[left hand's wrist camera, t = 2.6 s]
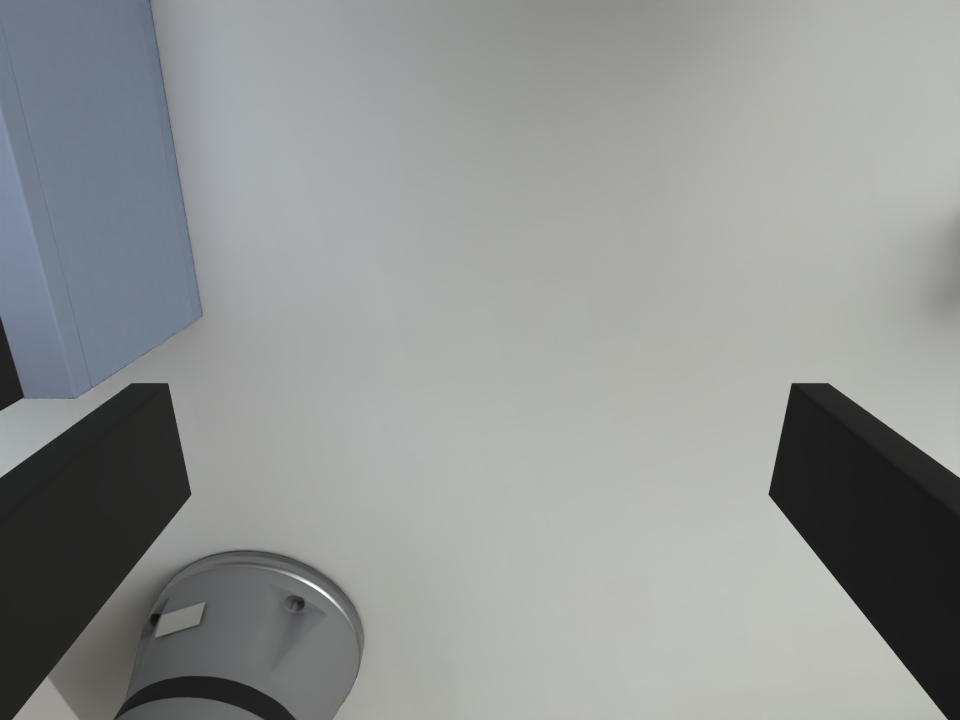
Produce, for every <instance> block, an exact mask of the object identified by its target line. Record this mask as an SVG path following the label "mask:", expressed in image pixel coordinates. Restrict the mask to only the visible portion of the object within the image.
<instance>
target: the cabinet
mask: <svg viewBox="0 0 960 720" xmlns="http://www.w3.org/2000/svg"><path fill="white" fill-rule="evenodd" d="M0 316H1V320H2V323H3V326H4V330H5V333H6V336H7V340H8V343H9V347H10V350H11V353H12V357H13V360H14V363H15V367H16V370H17V373H18V377H19V380H20V383H21V387H22V390H23V394H24V398H77V397H79V396H80V395H82V394H83V393H85V392H86V391H88V390H89V389H91V388H93V387H95V386H96V385H98V384H99V383H101V382H102V381H104V380H105V379H107V378H108V377H110V376H112V375H113V374H115V373H116V372H118V371H119V370H121V369H122V368H124V367H125V366H127V365H128V364H130V363H131V362H133V361H135V360H136V359H138V358H139V357H141V356H142V355H144V354H145V353H147V352H148V351H150V350H151V349H153V348H155V347H156V346H158V345H159V344H161V343H162V342H164V341H165V340H167V339H168V338H170V337H171V336H173V335H174V334H176V333H178V332H179V331H181V330H182V329H184V328H185V327H187V326H188V325H190V324H191V323H193V322H194V321H196V320H197V319H199V318H200V317H202V312H201V306H200V300H199V294H198V288H197V282H196V276H195V270H194V264H193V258H192V253H191V247H190V241H189V235H188V229H187V223H186V217H185V211H184V205H183V199H182V193H181V187H180V181H179V175H178V169H177V163H176V157H175V151H174V145H173V139H172V133H171V127H170V121H169V115H168V109H167V103H166V97H165V91H164V86H163V80H162V74H161V68H160V62H159V56H158V50H157V44H156V38H155V32H154V26H153V20H152V14H151V8H150V2H149V0H0Z"/></svg>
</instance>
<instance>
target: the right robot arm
mask: <svg viewBox="0 0 960 720" xmlns="http://www.w3.org/2000/svg"><path fill="white" fill-rule="evenodd" d="M22 398H24V394H23V390H22V387H21V383H20V380H19V377H18V373H17V370H16V367H15V363H14V360H13V357H12V353H11V350H10V347H9V343H8V340H7V336H6V333H5V330H4V326H3V323H2V320H1V316H0V411H1V410H3V409H4V408H6V407H8V406H10V405H11V404H13V403H15V402H17V401H18V400H20V399H22ZM363 646H364V636H363V629H362V625H361V621H360V619H359V616H358V614H357V612H356V610H355V608H354V606H353V605H352V603H351V601H350V600H349V599H348V597H347V596H346V595H345V594H344V592H343V591H342V590H341V589H340V588H339V587H338V586H337V585H336V584H334V583H333V582H332V581H331V580H330V579H328V578H327V577H326V576H324V575H323V574H321V573H320V572H318V571H316V570H315V569H313V568H311V567H309V566H307V565H305V564H303V563H301V562H298V561H295V560H293V559H290V558H287V557H283V556H279V555H275V554H270V553H263V552H251V551H244V552H229V553H223V554H218V555H214V556H210V557H207V558H205V559H202V560H199V561H197V562H195V563H193V564H191V565H189V566H188V567H186V568H185V569H183V570H182V571H180V572H179V573H178V574H177V575H176V576H175V577H174V578H173V579H172V580H171V581H170V582H169V583H168V584H167V586H166V587H165V588H164V590H163V591H162V593H161V594H160V595H159V597H158V598H157V600H156V601H155V603H154V604H153V606H152V608H151V610H150V612H149V614H148V616H147V619H146V622H145V624H144V627H143V631H142V634H141V640H140V643H139V647H138V651H137V655H136V659H135V663H134V667H133V671H132V675H131V679H130V683H129V688H128V692H127V696H126V700H125V702H124V704H123V705H122V707H121V709H120V710H119V712H118V713H117V715H116V717H115V718H114V720H333V718H334V716H335V715H336V713H337V711H338V710H339V708H340V706H341V705H342V703H343V702H344V701H345V700H346V698H347V696H348V695H349V693H350V691H351V689H352V686H353V685H354V682H355V680H356V678H357V675H358V671H359V667H360V662H361V658H362V653H363Z"/></svg>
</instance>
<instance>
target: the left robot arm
mask: <svg viewBox="0 0 960 720" xmlns="http://www.w3.org/2000/svg"><path fill="white" fill-rule="evenodd" d="M190 496H191V490H190V486H189V481H188V476H187V471H186V466H185V462H184V457H183V452H182V447H181V443H180V438H179V433H178V428H177V423H176V419H175V414H174V409H173V404H172V399H171V395H170V390H169V385H168V383H131V384H130V385H129V386H127V387H126V388H125V389H123V390H122V391H120V392H119V393H118V394H116V395H115V396H113V397H112V398H111V399H109V400H108V401H107V402H105V403H104V404H102V405H101V406H100V407H98V408H97V409H95V410H94V411H93V412H91V413H90V414H88V415H87V416H86V417H84V418H83V419H82V420H80V421H79V422H77V423H76V424H75V425H73V426H72V427H70V428H69V429H68V430H66V431H65V432H63V433H62V434H61V435H59V436H58V437H57V438H55V439H54V440H52V441H51V442H50V443H48V444H47V445H45V446H44V447H43V448H41V449H40V450H38V451H37V452H36V453H34V454H33V455H32V456H30V457H29V458H27V459H26V460H25V461H23V462H22V463H20V464H19V465H18V466H16V467H15V468H13V469H12V470H11V471H9V472H8V473H7V474H5V475H4V476H2V477H1V478H0V720H12V719H13V718H14V717H15V715H16V714H17V713H18V712H19V710H20V709H21V708H22V707H23V705H24V704H25V703H26V702H27V700H28V699H29V698H30V697H31V695H32V694H33V693H34V692H35V690H36V689H37V688H38V686H39V685H40V684H41V683H42V681H43V680H44V679H45V678H46V676H47V675H48V674H49V673H50V671H51V670H52V669H53V668H54V666H55V665H56V664H57V663H58V661H59V660H60V659H61V658H62V656H63V655H64V654H65V653H66V651H67V650H68V649H69V648H70V646H71V645H72V644H73V643H74V641H75V640H76V639H77V638H78V636H79V635H80V634H81V633H82V631H83V630H84V629H85V628H86V626H87V625H88V624H89V623H90V621H91V620H92V619H93V617H94V616H95V615H96V614H97V612H98V611H99V610H100V609H101V607H102V606H103V605H104V604H105V602H106V601H107V600H108V599H109V597H110V596H111V595H112V594H113V592H114V591H115V590H116V589H117V587H118V586H119V585H120V584H121V582H122V581H123V580H124V579H125V577H126V576H127V575H128V574H129V572H130V571H131V570H132V569H133V567H134V566H135V565H136V564H137V562H138V561H139V560H140V559H141V557H142V556H143V555H144V553H145V552H146V551H147V550H148V548H149V547H150V546H151V545H152V543H153V542H154V541H155V540H156V538H157V537H158V536H159V535H160V533H161V532H162V531H163V530H164V528H165V527H166V526H167V525H168V523H169V522H170V521H171V520H172V518H173V517H174V516H175V515H176V513H177V512H178V511H179V510H180V508H181V507H182V506H183V505H184V503H185V502H186V501H187V500H188V498H189V497H190ZM769 496H770V497H771V498H772V500H773V501H774V502H775V503H776V505H777V506H778V507H779V508H780V510H781V511H782V512H783V513H784V515H785V516H786V517H787V518H788V520H789V521H790V522H791V523H792V525H793V526H794V527H795V528H796V530H797V531H798V532H799V533H800V535H801V536H802V537H803V538H804V540H805V541H806V542H807V543H808V545H809V546H810V547H811V548H812V550H813V551H814V552H815V553H816V555H817V556H818V557H819V559H820V560H821V561H822V562H823V564H824V565H825V566H826V567H827V569H828V570H829V571H830V572H831V574H832V575H833V576H834V577H835V579H836V580H837V581H838V582H839V584H840V585H841V586H842V587H843V589H844V590H845V591H846V592H847V594H848V595H849V596H850V597H851V599H852V600H853V601H854V602H855V604H856V605H857V606H858V607H859V609H860V610H861V611H862V612H863V614H864V615H865V616H866V618H867V619H868V620H869V621H870V623H871V624H872V625H873V626H874V628H875V629H876V630H877V631H878V633H879V634H880V635H881V636H882V638H883V639H884V640H885V641H886V643H887V644H888V645H889V646H890V648H891V649H892V650H893V651H894V653H895V654H896V655H897V656H898V658H899V659H900V660H901V661H902V663H903V664H904V665H905V666H906V668H907V669H908V670H909V671H910V673H911V674H912V675H913V676H914V678H915V679H916V680H917V682H918V683H919V684H920V685H921V687H922V688H923V689H924V690H925V692H926V693H927V694H928V695H929V697H930V698H931V699H932V700H933V702H934V703H935V704H936V705H937V707H938V708H939V709H940V710H941V712H942V713H943V714H944V715H945V717H946V718H947V719H948V720H960V478H959V477H958V476H956V475H955V474H953V473H952V472H951V471H949V470H948V469H947V468H945V467H944V466H942V465H941V464H940V463H938V462H937V461H935V460H934V459H933V458H931V457H930V456H928V455H927V454H926V453H924V452H923V451H922V450H920V449H919V448H917V447H916V446H915V445H913V444H912V443H910V442H909V441H908V440H906V439H905V438H903V437H902V436H901V435H899V434H898V433H897V432H895V431H894V430H892V429H891V428H890V427H888V426H887V425H885V424H884V423H883V422H881V421H880V420H878V419H877V418H876V417H874V416H873V415H872V414H870V413H869V412H867V411H866V410H865V409H863V408H862V407H860V406H859V405H858V404H856V403H855V402H853V401H852V400H851V399H849V398H848V397H847V396H845V395H844V394H842V393H841V392H840V391H838V390H837V389H835V388H834V387H833V386H831V385H830V384H829V383H792V385H791V390H790V395H789V399H788V404H787V409H786V414H785V419H784V423H783V428H782V433H781V438H780V443H779V447H778V452H777V457H776V462H775V466H774V471H773V476H772V481H771V486H770V490H769Z"/></svg>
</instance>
